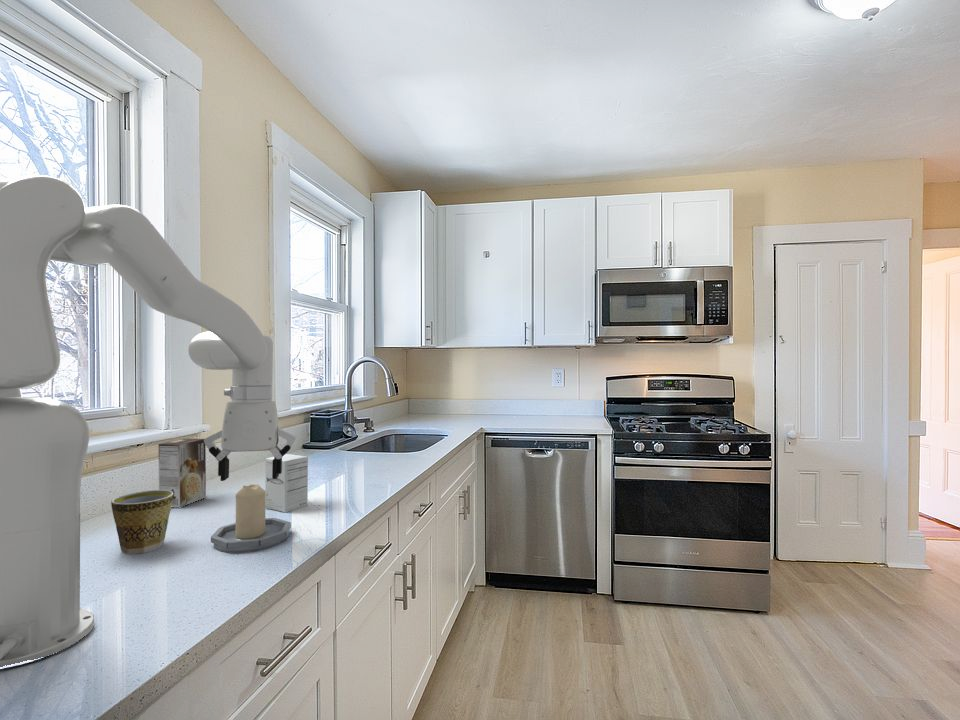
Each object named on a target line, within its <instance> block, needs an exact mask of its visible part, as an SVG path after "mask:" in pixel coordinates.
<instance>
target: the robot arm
mask: <svg viewBox="0 0 960 720" xmlns="http://www.w3.org/2000/svg"><path fill="white" fill-rule="evenodd" d="M50 261H56V262H63V263H71V264H78V265H79V264H80V265H100V264H108V265H110V266H111V268H113V270H114V271H116V273H117V274H118V275H119V276H120V277H121V278H122V279H123V280H124V281H125V282H126V283H127V284H128V285H129V286H130V287H131V289H132V290H133V291H134V292H135V293H136V294H137V295H138V296H139V297H140V298H141V299H142V300H143V301H144V302H145V304H146V305H147V306H149V307H150V308H151V309H153V310H155V311H157V312H160V313H162V314H164V315H167V316H170V317H173V318H175V319H179V320H183V321H185V322H188V323H193V324H195V325H197V326H200V327H201V328H203V329H205V330H207V331H203V332H200V333H198V334H197V335H195V336H194V337H193V338H192V339H191V341H190V342H189V345H188V350H187V351H188V356H189V358H190V360H191V361H192V363H194V364H195V365H197V366H198V367H200V368H203V369H205V370H212V371H213V370H214V371H217V370H218V371H221V370H222V371H223V370H224V371H226V370H232V371H231V386H230V388H225V389H224V390H223V396H226V397H227V396H228V397H230V400H231V401H227V402H226V404H225V408H224V415H223V421H222V430H220V431H217V432H216V433H214V434H212V435H210V436H207V437H206V438H205V437H204V438H203V439H204V442H205V447H206V448H207V449H208V452H209V453H210V455H211V456H213V457H214V458H215V460H216V461H217V463H218V464H217V466H218V469H217V476H218V477H220V481H221V482H224V481H227V479H229V477H230V458H228V456H229V455H230V454H231V453H236V452H237V453H238V452H243V453H244V452H246V453H247V452H267V451H269V452H270V453H271V455H272V456H273V457H274V459H273V466H272V478H273V479H277V477H278V476H279V474H281V473H282V457H283V456H284V455H285V454H288V452H289V451H290V450H291V449H292V447H293V445H294V444H295V442H296V440H297V436H296V435H295V434H292V433H290V432H288V431H286V430H284V429H282V428H280V427H279V416H278V409H277V403H276V401H274V400H273V374H274V373H273V368H274V366H273V365H274V364H273V363H274V341H273V339H272V338H271V337H270V336H268V335H263V332H262V330H261V329H260V328H259V327H258V325H257V323H256V322H255V321H254V320H253V319H252V318H251V316H250V315H249V314H248V313H247V312H246V310H245V309H243V308H242V307H241V306H240V305H239V304H237V303H236V302H234V301H233V300H232V299H230V298H229V297H227V296H225V295H224V294H222V293H221V292H219V291H218V290H216V289H215V288H213V287H211V286H209V285H208V284H206V283H204V282H202V281H201V280H199V279H198V278H197V277H196V276H195V275H194V274H193V273H192V272H191V271H190V269H189V268H188V267H187V266H186V264H185V263H184V262H183V261H182V260H181V258H180V257H179V256H178V254H177V253H176V252H175V251H174V249H173V248H172V247H171V246H170V245H169V243H168V242H167V241H166V240H165V238H164V237H163V236H162V235H161V233H160V232H159V231H158V229H156V227H155V226H154V225H153V224H152V222H151V221H150V220H149V219H148V218H147V217H146V216H145V215H144V214H143V213H142V212H140V210H138V209H136V208H134V207H131V206H128V205H123V204H108V205H99V206H90V207H86V206H85V202H84V200H83V198H82V196H81V194H80V193H79V191H78V190H77V189H76V188H75V187H74V186H73V185H72V184H70V183H68V182H66V181H64V180H63V179H60V178H57V177H54V176H50V175H41V174H31V175H22V176H16V177H10V178H6V179H5V178H4V179H2V180H1V179H0V667H3V666H5V665H6V666H7V665H11V664H15V663H20V662H23V661H27V660H34V659H38V658H41V657H45V656H48V655H51V656H53V655H54V654H53V653H56V652H58V653H60V652H62V651H64V650H66V649H68V648H70V647H72V646H74V645H75V644H77V643H78V642H80V641H81V640H82V638H83V637H84V636H85V637H86V636H87V635H88V634H89V633H90V632H91V631H92V630H93V629H94V627H93V626H95V615H94V614H93V612H91V611H89V610H87V609H83V608H81V598H80V597H81V486H82V475H83V469H84V464H85V460H86V456H87V452H88V448H89V447H88V446H89V441H90V428H89V425H88V422H87V420H86V418H85V416H84V415H83V414H82V412H81V411H79V410H78V409H77V408H76V407H75V406H73V405H71V404H69V403H67V402H65V401H62V400H58V399H55V398H47V397H35V396H34V397H31V396H30V397H27V396H26V397H24V396H22V394H21V389H27V388H28V389H30V388H34V387H37V386H40V385H43V384H44V383H46V382H48V381H49V380H51V379H52V378H53V377H54V376H55V375H56V374H57V372H58V370H59V367H60V365H61V353H60V352H61V351H60V347H59V341H58V338H57V332H56V328H55V325H54V319H53V313H52V310H51V306H50V300H49V296H48V287H47V281H46V280H47V277H46V276H47V268H48V265H49V262H50ZM279 437H280V438H282V439H284V440H286V443H285V445H284V447H282V449H281V448H280V447H279ZM219 439H221V441H220V442H221V443H220V444H221V449H220V448H219V447H218V446H217V445H216V443H215V442H216V441H217V440H219ZM85 637H84V638H85ZM84 638H83V639H84ZM80 639H81V640H80ZM79 640H80V641H79ZM77 641H78V642H77ZM76 642H77V643H76ZM71 645H72V646H71ZM67 647H68V648H67ZM65 648H66V649H65ZM63 649H64V650H63ZM61 650H62V651H61ZM59 651H60V652H59ZM52 654H53V655H52ZM56 654H57V653H56Z"/></svg>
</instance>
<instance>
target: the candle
mask: <svg viewBox="0 0 960 720" xmlns="http://www.w3.org/2000/svg"><path fill="white" fill-rule="evenodd" d="M265 518H266V508H265V490H264V488H262V487H261V486H260V485H259V484H250V485H243V486H242V487H241V488H240V489H239V490H238V492H236V494H235V523H236V538H239V539H252V538H256V537H259V536H262V535H263V534H265Z"/></svg>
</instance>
